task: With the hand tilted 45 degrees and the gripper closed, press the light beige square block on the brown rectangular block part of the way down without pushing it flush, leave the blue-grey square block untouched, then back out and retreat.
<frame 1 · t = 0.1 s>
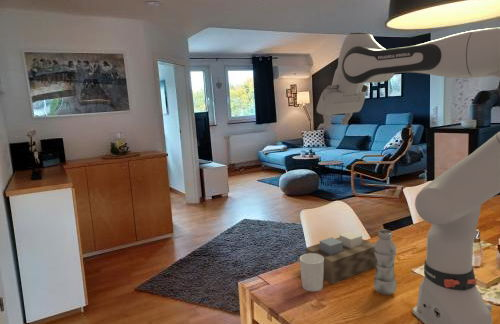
hand: (335, 125, 121), 52 cm above the table, tool tilted 20°, fingers open, 8 cm apart
plastic bottle: (384, 292, 114), on the table
blue-grey square block: (331, 246, 128), point 9 cm above the table, slide at 0.0 cm
light beige square block: (350, 240, 132), point 9 cm above the table, slide at 0.0 cm
white cup: (312, 287, 120), on the table
brown rectangular block: (342, 267, 132), on the table
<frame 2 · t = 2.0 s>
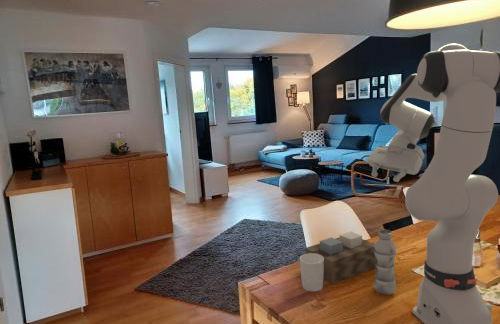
hand: (384, 178, 134), 31 cm above the table, tool tilted 45°, fingers open, 8 cm apart
nothing on the table moved.
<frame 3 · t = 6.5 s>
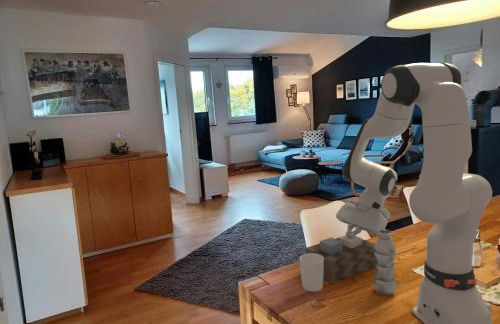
hand: (349, 236, 132), 11 cm above the table, tool tilted 45°, fingers closed, pressing on light beige square block
light beige square block: (350, 243, 132), point 8 cm above the table, slide at 1.0 cm, touching gripper
everything else where it was.
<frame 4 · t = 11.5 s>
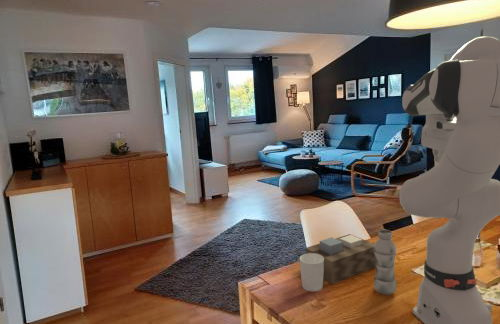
hand: (438, 162, 125), 37 cm above the table, tool pointing down, fingers closed
light beige square block: (350, 244, 132), point 8 cm above the table, slide at 1.4 cm
everything else where it was.
at the end: light beige square block slide at 1.4 cm; blue-grey square block slide at 0.0 cm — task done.
